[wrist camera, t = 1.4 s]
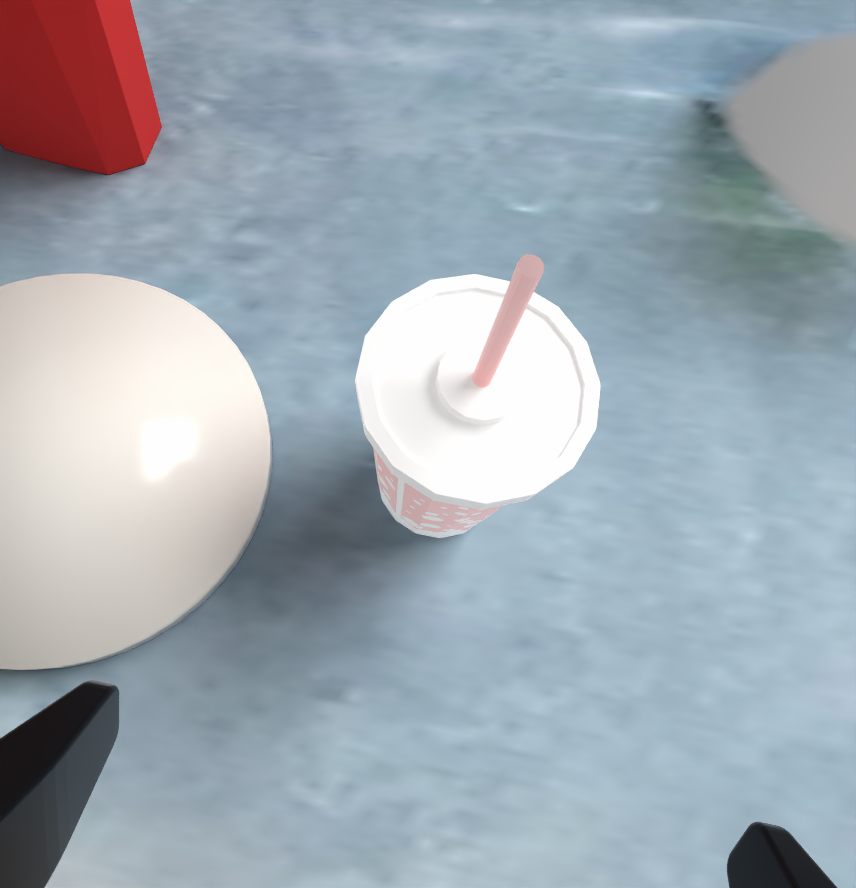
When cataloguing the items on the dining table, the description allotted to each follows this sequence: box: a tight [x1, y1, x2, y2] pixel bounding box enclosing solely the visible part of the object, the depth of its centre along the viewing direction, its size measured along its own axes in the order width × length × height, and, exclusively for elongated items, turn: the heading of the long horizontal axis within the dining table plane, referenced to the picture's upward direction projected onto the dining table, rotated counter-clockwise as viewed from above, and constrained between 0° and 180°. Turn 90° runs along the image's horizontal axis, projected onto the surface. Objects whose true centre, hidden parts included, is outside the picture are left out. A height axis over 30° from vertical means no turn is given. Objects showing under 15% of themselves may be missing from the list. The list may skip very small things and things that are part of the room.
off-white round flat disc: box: [0, 274, 272, 670], centre depth 23 cm, size 14×14×1 cm
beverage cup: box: [355, 254, 600, 538], centre depth 18 cm, size 6×6×14 cm
